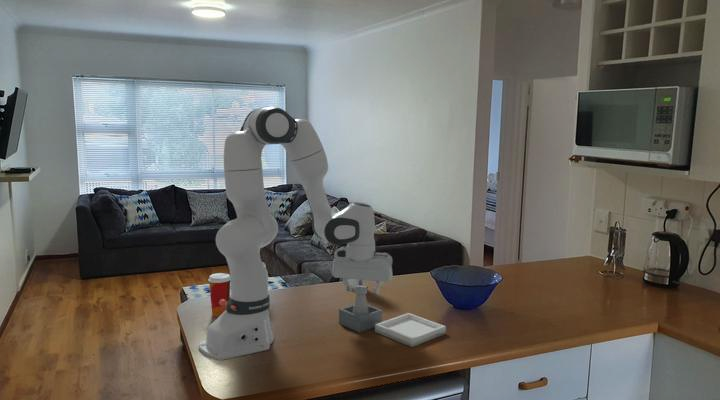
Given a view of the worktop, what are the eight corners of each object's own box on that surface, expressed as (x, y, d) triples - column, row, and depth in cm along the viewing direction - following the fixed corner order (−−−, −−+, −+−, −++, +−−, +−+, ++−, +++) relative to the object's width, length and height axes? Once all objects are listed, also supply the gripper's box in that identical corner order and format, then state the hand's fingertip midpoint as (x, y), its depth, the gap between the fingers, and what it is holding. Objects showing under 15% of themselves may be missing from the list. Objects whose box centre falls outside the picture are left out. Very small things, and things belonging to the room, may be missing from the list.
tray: (411, 347, 166) (412, 339, 166) (374, 331, 178) (375, 324, 177) (445, 333, 177) (445, 326, 176) (408, 319, 188) (408, 312, 188)
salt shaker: (372, 323, 185) (372, 285, 183) (363, 328, 180) (364, 290, 178) (357, 319, 188) (357, 282, 186) (348, 324, 183) (348, 287, 181)
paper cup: (220, 309, 196) (219, 271, 194) (236, 313, 192) (235, 274, 190) (204, 316, 189) (202, 276, 187) (220, 320, 186) (219, 280, 183)
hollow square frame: (359, 332, 177) (359, 317, 176) (338, 323, 184) (339, 309, 184) (382, 324, 184) (382, 310, 183) (361, 316, 191) (361, 302, 190)
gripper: (394, 251, 180) (395, 291, 182) (336, 247, 187) (337, 286, 189) (389, 255, 174) (389, 297, 176) (329, 251, 181) (330, 292, 183)
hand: (362, 292), depth 183 cm, fingers open, 8 cm apart
